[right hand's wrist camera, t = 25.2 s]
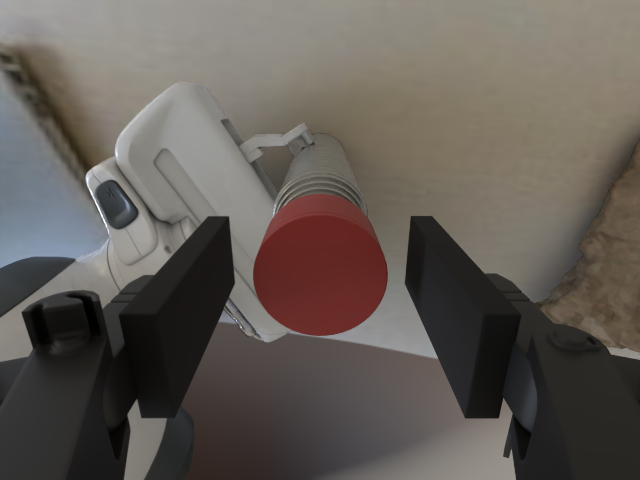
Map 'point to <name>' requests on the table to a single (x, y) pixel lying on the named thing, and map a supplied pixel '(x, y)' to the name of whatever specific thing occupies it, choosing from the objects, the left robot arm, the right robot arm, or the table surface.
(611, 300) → the stone
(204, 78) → the table surface
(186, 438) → the left robot arm
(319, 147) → the bottle
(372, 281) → the cap
